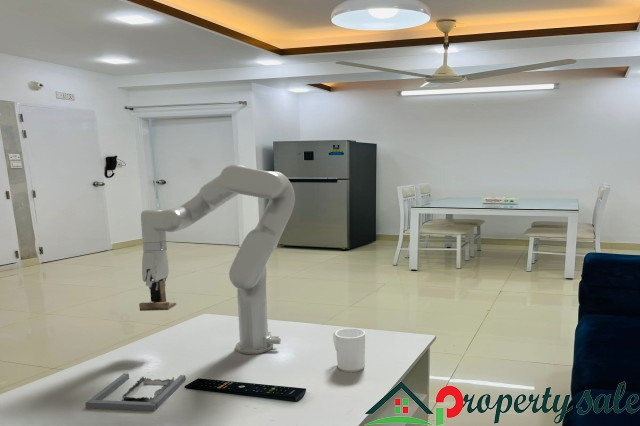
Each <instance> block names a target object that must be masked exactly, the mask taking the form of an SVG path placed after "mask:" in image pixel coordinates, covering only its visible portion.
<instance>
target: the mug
mask: <svg viewBox="0 0 640 426" xmlns="http://www.w3.org/2000/svg"><path fill="white" fill-rule="evenodd" d="M332 336H333V337H332V341H333V344H334V348H335V351H336V361H337V368H338V369H339V370H340V371H342V372H344V373H345V372H347V373H358V372H360V371H362V370H363V369H365V367H366V361H365V360H366V331H365V330H363V329H360V328H353V327H348V328H340V329H338V330H336V331H334V332H333V335H332Z"/></svg>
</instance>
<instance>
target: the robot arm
mask: <svg viewBox="0 0 640 426" xmlns="http://www.w3.org/2000/svg"><path fill="white" fill-rule="evenodd" d="M238 195H244V196H249V197H253V198H254V197H255V198H259V199H264V200H265V199H266V200H268V202H267V205H266V207H265V208H264V210H263V212H262V214H261V216H260V219H259V221H258V223H257V225H256V226H255V227H254V229H252V230H250V231H249V232H248V233H247V235H246V236H245V237H244V239H243V240H242V243H241V245H240V247H239V249H238V252H237V253H236V256H235V257H234V259H233V262H232V264H231V265H230V269H229V272H228V273H229V274H228V276H229V281H230V282H231V284H232V286H234V287H235V288H236V290H237V295H236V297H237V311H238V313H237V315H238V316H237V317H238V330H239V331H238V332H239V333H238V334H239V335H238V336H239V342H238V341H237V343H236V344H235V345H234V346H235V347H234V348H235V351H236V352H238V353H240V354H245V355H256V354H262V353H265V352H268V351H270V350H271V349H273V347H274V345H280V344H281V341H282V339H281V338H280V336H278V335H277V336H273V335H272V333H271V331H269V324H268V308H267V306H268V305H267V304H268V303H267V266H266V265H267V263H268V262H269V259H270V258H271V255H272V254H273V252H274V251H275V250H276V249H277V248H278V247H277V246H278V245H279V244H278V243H280V242H279V241H280V240H281V237H282V234H283V233H284V230H285V229H286V227H287V224H288V222H289V220H290V218H291V215H292V213H293V210H294V207H295V201H296V193H295V189H294V187H293V184H292V183H291V181H290V180H289V178H288V177H287V176H286V175H285V174H283V173H281V172H280V171H274V170H273V171H267V170H261V169H255V168H251V167H247V166H245V165H243V164H230V165H227V166H225V167H224V168H223V169H222V170H221V172H220V174H219V175H217V176H216V177H214V178H213V179H212V180H210V181H208V182H207V183H205V184H203V185H202V186H201V187H200V189H199V192H198V193H197V194H196V195H195V196H193V197H192V198H191V199H190V200H188V201H186V202H185V203H184V204H182V205H180V206H178V207H174V208H168V209H164V210H162V209H159V208H158V209H152V208H151V209H145V210H142V211H141V213H140V223H141V226H140V227H141V238H142V241H141V242H142V251H143V253H142V258H141V264H142V265H141V277H142V281H143V282H145V286H147V287H148V290H149V292H150V302H160V301H161V300H160V290H159V283H158V281H159V280H164V284H165V285H166V281H167V278H168V276H169V273H170V272H169V260H168V254H167V253H168V252H167V233H168V232H169V233H174V232H178V231H181V230H184V229H186V228H189V227H190V226H192V225H194V224H195V223H197V222H198V221H200V220H201V219H203V218H204V217H206V216H207V215H209V214H210V213H211V212H213V211H215V210H217V209H218V208H219V207H221V206H222V205H224V204H225V203H227V202H228V201H230V200H232V199H233V198H234V197H237V196H238ZM153 283H155V284H153Z"/></svg>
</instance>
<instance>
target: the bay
mask: <svg viewBox="0 0 640 426" xmlns="http://www.w3.org/2000/svg"><path fill="white" fill-rule="evenodd" d="M129 379H130V374H129V373H128V372H127V373H126V372H125V373H122V374H121V375H120V376H119V377H117V378H116V379H115V380H113V381H112V382H110V383H109V384H108V385H106V386H105V387H104V388H102V389H101V390H100V391H99V392H97V393H96V394H95V395H93V396H92V397H91V398H89V399H87V400H86V401H85V408H86V409H100V410H103V409H104V410H119V411H120V410H124V411H125V410H126V411H145V412H147V411H148V412H156V410H158V409H159V408H160V407H161V406H162V405H163V404H164V403H165V401H166V400H167V399H169V398H170V397H171V396H172V395H173V393H175V392H176V391H177V390H178V389H179V388H180V386H182V385H183V384H184V383H185V382H186V379H187V377H186V375H185V374H183V375H182V374H181V375H179V376H178V377H177V378H176V379H174V382H173V383H172V384H171V385H170V386H168V387H167V388H166V389H165V390H164V391H163V392H162V393H161V394H160V395H159V396H158V397H157V398H156V399H155V400H154V401H153V402H134V401H124V400H110V399H109V400H108V399H107V400H106V399H105V398H106V397H108V396H109V395H110V394H112V393H113V392H114V391H115V390H117V389H118V388H119V387H121V386H122V385H123V384H125V382H126V381H128V380H129Z"/></svg>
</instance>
